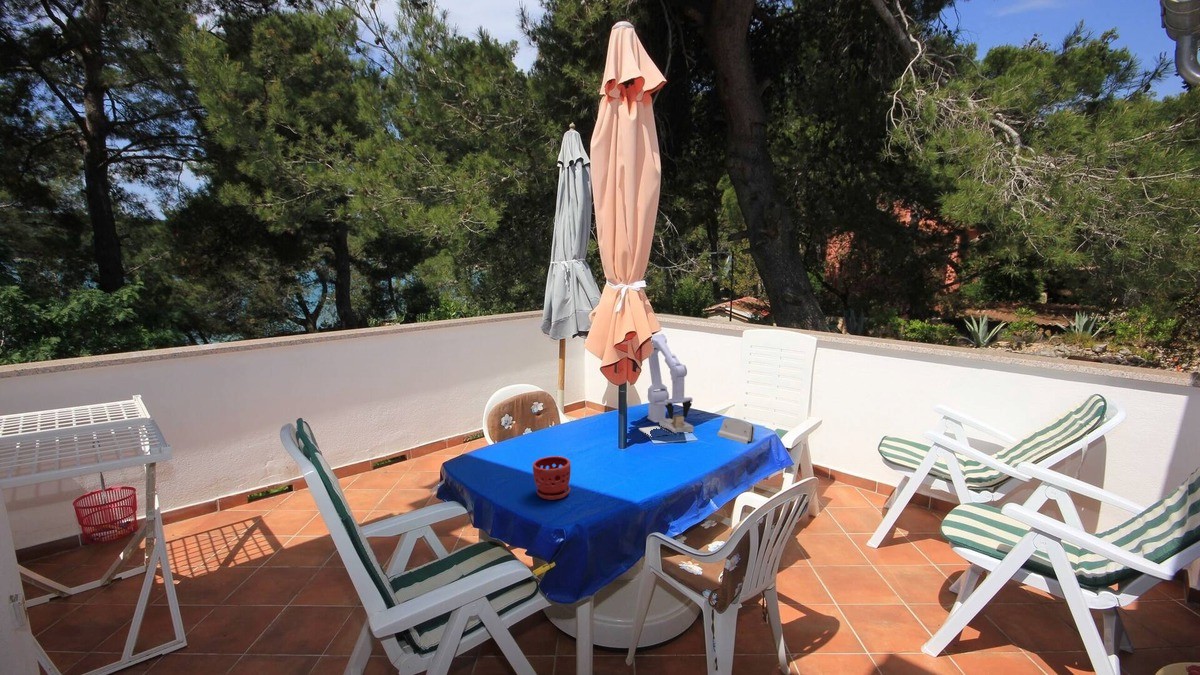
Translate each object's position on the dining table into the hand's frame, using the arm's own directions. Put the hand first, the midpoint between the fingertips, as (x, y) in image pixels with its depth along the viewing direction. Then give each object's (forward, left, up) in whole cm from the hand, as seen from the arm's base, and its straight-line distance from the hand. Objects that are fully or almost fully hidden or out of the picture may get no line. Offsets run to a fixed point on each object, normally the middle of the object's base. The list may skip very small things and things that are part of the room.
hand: (678, 417), depth 265 cm
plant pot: (+49, -77, -6) cm, 92 cm away
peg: (0, 0, -6) cm, 6 cm away
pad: (-1, -12, -6) cm, 14 cm away
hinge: (+21, +19, -7) cm, 29 cm away
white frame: (-2, 0, -6) cm, 6 cm away
